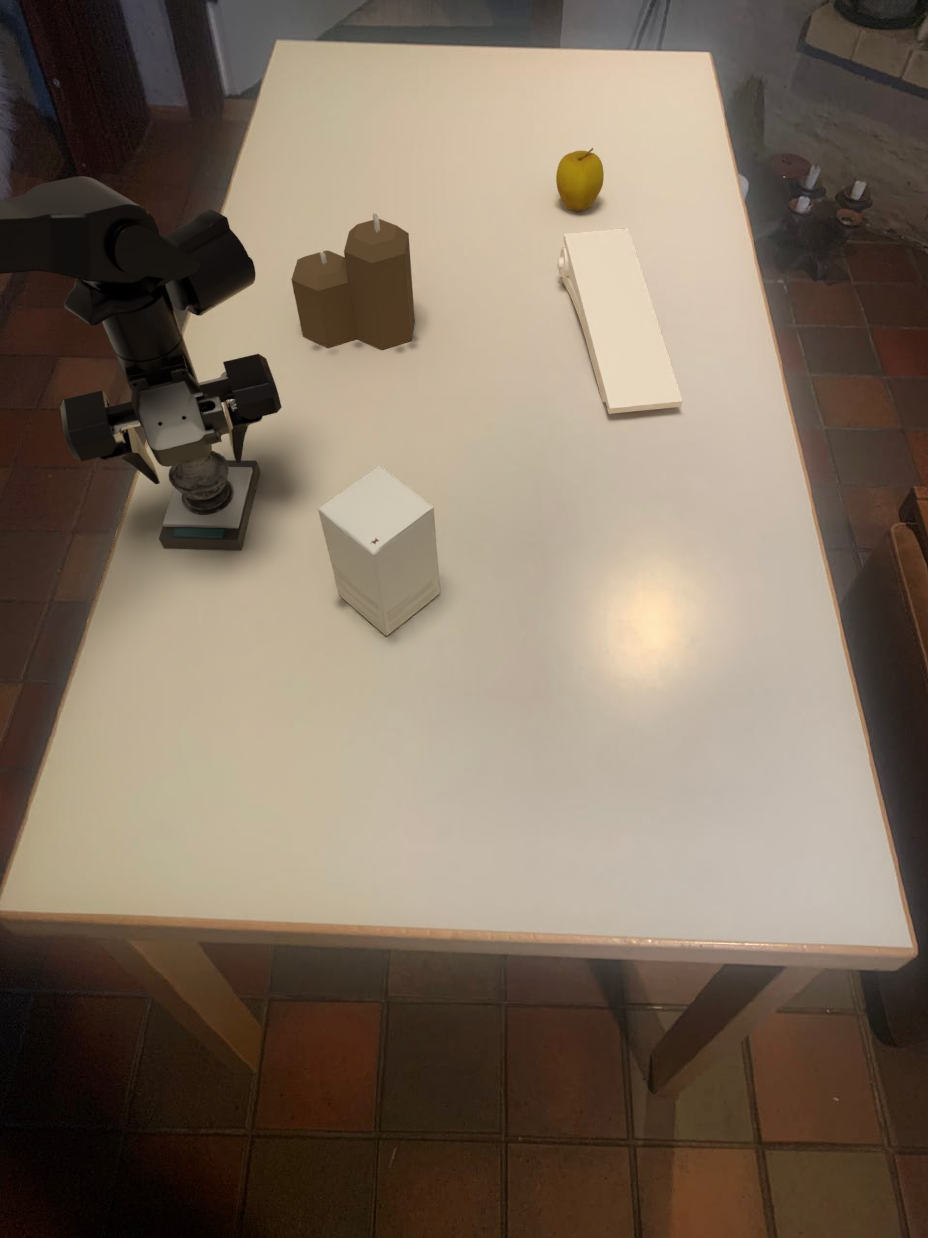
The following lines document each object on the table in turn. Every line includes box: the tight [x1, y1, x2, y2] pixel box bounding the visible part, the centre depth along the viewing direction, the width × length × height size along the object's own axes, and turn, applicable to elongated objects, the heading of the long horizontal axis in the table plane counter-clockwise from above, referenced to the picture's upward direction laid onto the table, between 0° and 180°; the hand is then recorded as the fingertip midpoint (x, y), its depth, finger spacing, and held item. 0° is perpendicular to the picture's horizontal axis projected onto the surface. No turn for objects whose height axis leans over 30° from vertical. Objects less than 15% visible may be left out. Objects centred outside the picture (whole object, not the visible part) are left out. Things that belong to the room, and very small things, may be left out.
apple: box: [555, 147, 605, 211], centre depth 115 cm, size 6×6×8 cm
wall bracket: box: [556, 227, 683, 415], centre depth 102 cm, size 10×7×28 cm
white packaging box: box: [317, 465, 441, 637], centre depth 76 cm, size 7×7×13 cm
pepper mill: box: [168, 450, 234, 515], centre depth 81 cm, size 6×6×12 cm
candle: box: [290, 212, 416, 351], centre depth 99 cm, size 14×14×15 cm
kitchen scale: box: [158, 459, 261, 551], centre depth 87 cm, size 11×8×2 cm
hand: (197, 470), depth 83 cm, fingers closed on pepper mill, 8 cm apart
